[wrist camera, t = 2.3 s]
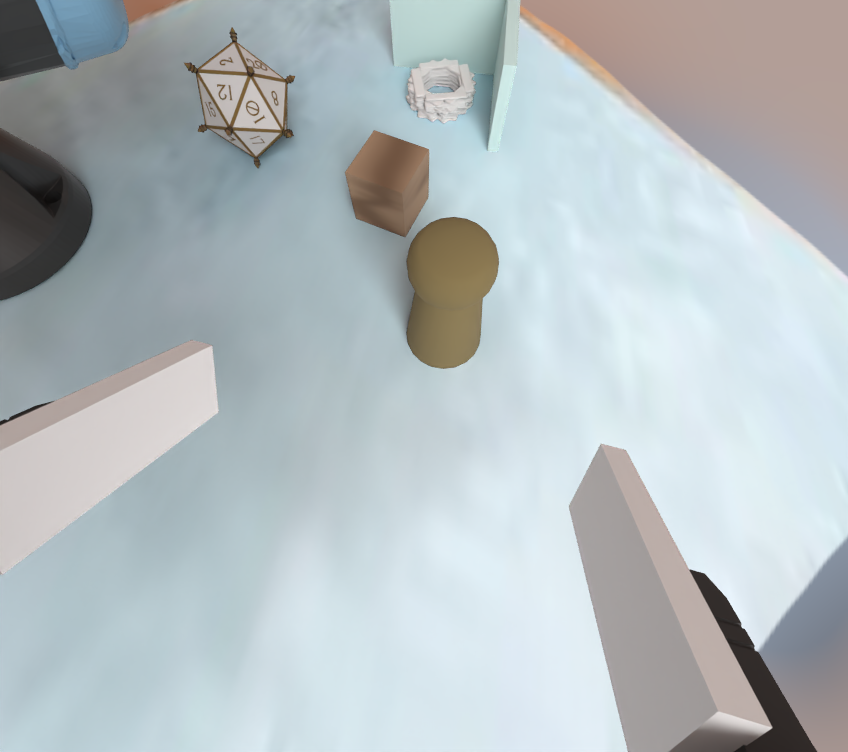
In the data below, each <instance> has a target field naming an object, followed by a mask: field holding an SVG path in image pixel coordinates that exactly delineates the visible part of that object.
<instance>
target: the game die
mask: <svg viewBox="0 0 848 752" xmlns="http://www.w3.org/2000/svg"><path fill="white" fill-rule="evenodd" d="M229 34H230V35H231V36H230V38H231V39H232V43H230V44H229V45H228V46H226V47H225V48H224V49H223V50H221V51H220V52H219V53H217V54H216V55H215V56H213V57H212V58H211V59H209V60H208V61H207V62H206V63H204V64H203V65H202V66H200V67H199V68H198V69H197V68H196V67H195V65H192V63H184V64H185V65H186V67H187V68H188V71H191V72H192V73H193V72H194V73H196V77H197V82H198V88H199V93H200V99H201V104H202V109H203V115H204V120H205V125H202V124H201V126H199V129H198V132H204V131H206V130H207V129H210V130H211V131H213V132H214V133H216V134H218V135H219V136H221V137H222V138H224V139H226V140H227V141H229V142H230V143H232V144H233V145H235V146H237V147H238V148H240V149H241V150H243V151H245V152H246V153H248V154H249V155H251V156H252V157H254V164H255V165H256V167H257V168H259V165H260V161H259V159H258V157H259V156H260V155H261V154H263V153H264V152H265V151H266V150H267V149H268V148H269V147H270V146H271V145H272V144H274V143H275V142H276V141H277V140H278V139H279V138H280V137H281V136H282V135H284V136H286V138H289V137H291V136H294V135H293V132H292V130H290V129H287V84H288V83H292V82H293V81H294V78H295V76H291V75H289V76H287V78H286V79H284V78H283V77H281V76H280V75H279V74H277V73H276V72H275V71H273V70H272V69H271V68H270V67H268V66H267V65H266V64H264V63H263V62H262V61H261V60H259V59H258V58H257V57H255V56H254V55H253V54H251V53H250V52H249V51H248V50H246V49H245V48H244V47H242V46H241V45H240V44H238V43H237V36H236V35H237V33H235V31H234V29H233V27H232V28H231V31H230V33H229Z"/></svg>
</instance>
